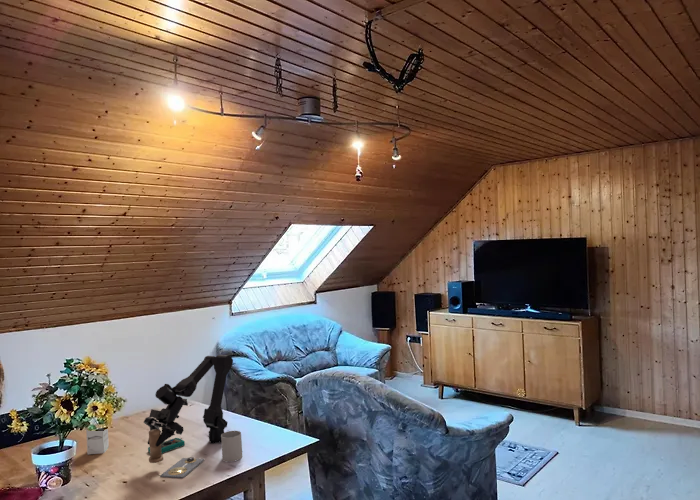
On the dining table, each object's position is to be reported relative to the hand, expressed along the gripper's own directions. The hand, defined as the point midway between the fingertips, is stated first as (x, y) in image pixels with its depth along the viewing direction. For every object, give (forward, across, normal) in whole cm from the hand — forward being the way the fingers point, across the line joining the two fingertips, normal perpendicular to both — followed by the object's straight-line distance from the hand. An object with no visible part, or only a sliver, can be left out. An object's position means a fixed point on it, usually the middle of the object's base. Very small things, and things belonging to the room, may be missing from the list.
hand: (152, 445), depth 215 cm
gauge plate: (+3, +9, +12) cm, 16 cm away
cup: (-9, +20, +24) cm, 33 cm away
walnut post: (+4, 0, +6) cm, 7 cm away
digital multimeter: (-5, -15, +21) cm, 26 cm away
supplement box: (+5, -42, +10) cm, 44 cm away
